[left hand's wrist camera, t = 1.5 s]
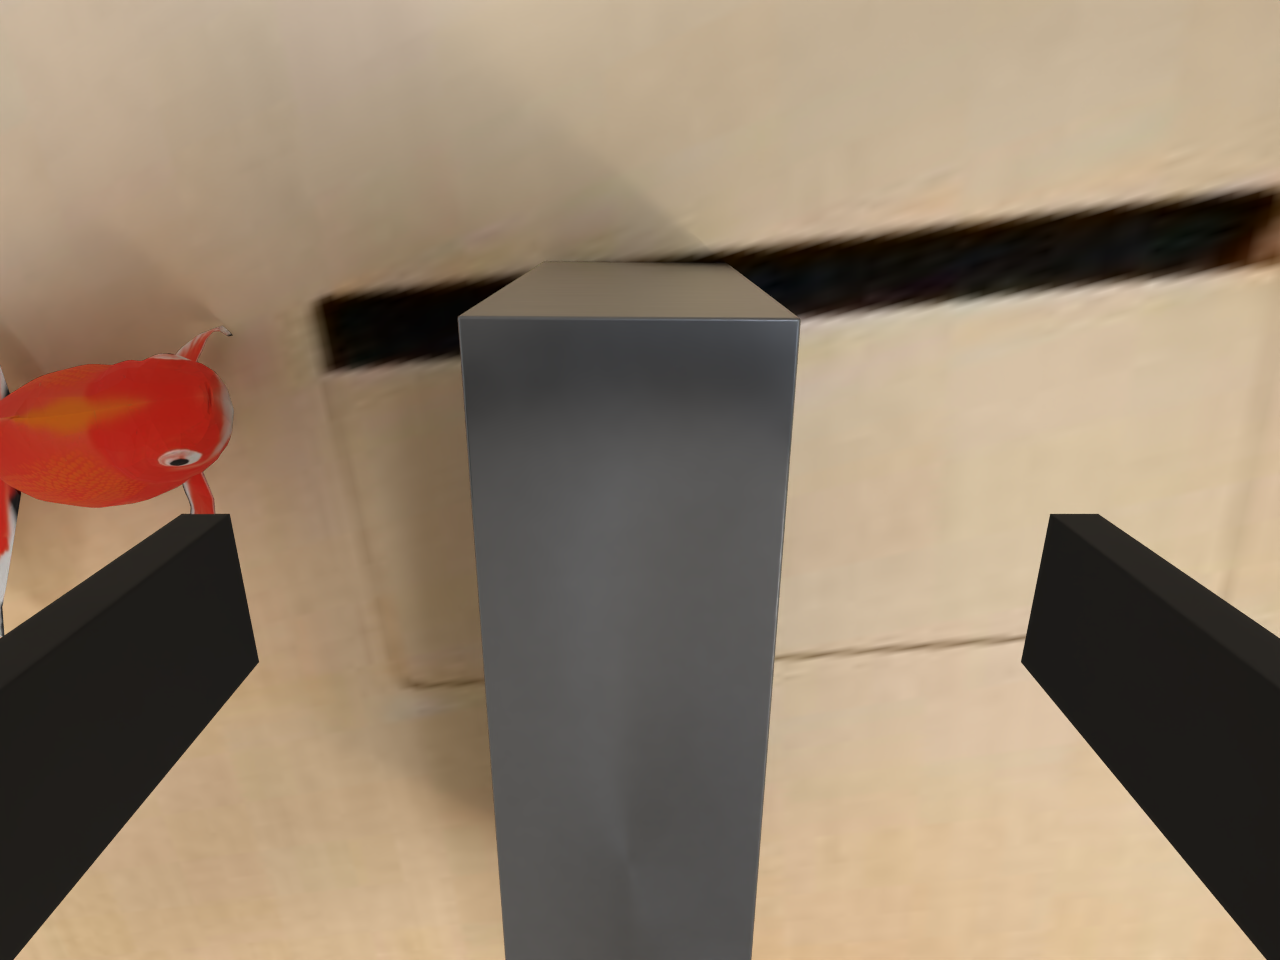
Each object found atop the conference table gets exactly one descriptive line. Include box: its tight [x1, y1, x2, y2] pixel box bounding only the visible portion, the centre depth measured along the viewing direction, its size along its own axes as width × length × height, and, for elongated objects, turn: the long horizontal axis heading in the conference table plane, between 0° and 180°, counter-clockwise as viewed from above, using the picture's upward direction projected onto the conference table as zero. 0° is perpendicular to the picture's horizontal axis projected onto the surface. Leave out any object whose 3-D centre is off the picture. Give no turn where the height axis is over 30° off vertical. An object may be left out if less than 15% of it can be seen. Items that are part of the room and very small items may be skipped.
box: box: [458, 262, 801, 960], centre depth 24 cm, size 25×6×12 cm, turn 0°
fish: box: [0, 326, 234, 637], centre depth 23 cm, size 11×16×10 cm
